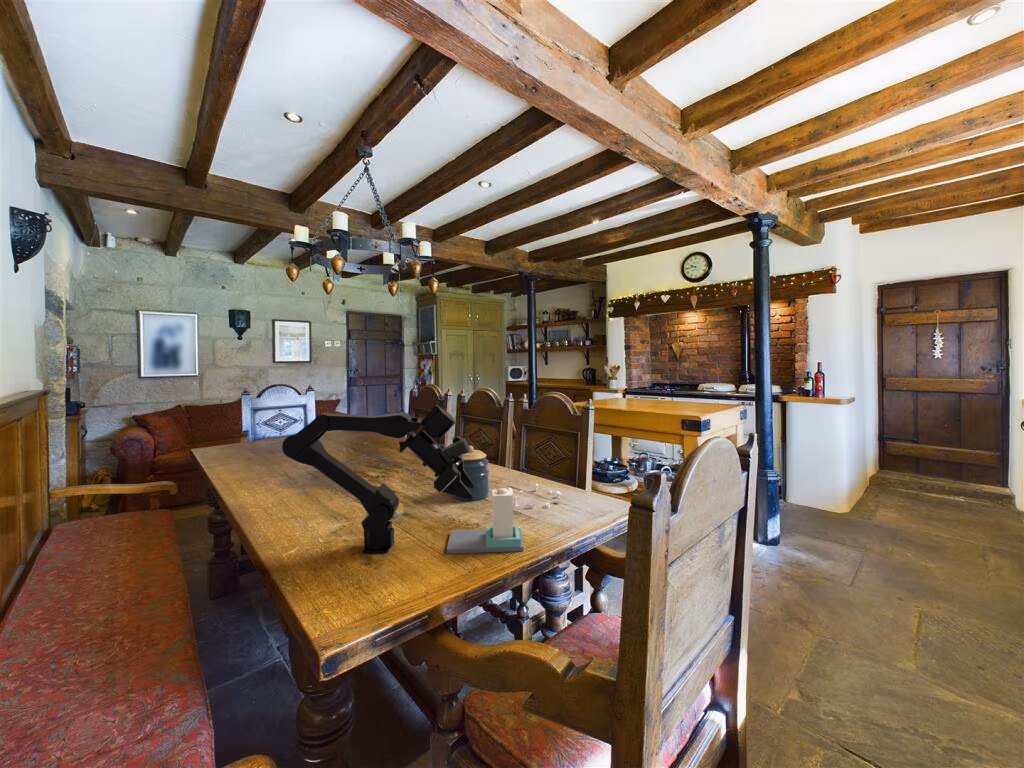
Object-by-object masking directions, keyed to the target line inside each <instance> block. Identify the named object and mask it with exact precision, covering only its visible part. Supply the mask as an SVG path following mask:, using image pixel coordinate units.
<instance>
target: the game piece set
mask: <svg viewBox="0 0 1024 768" xmlns="http://www.w3.org/2000/svg"><path fill="white" fill-rule="evenodd" d="M507 489H511V490H512V495H513V494H514V492H513V489H512V488H511V487H508V488H507ZM538 489H539V484H538V483H534V491H535V492H538ZM524 490H525V487H523V488H522V490H519V493H524ZM547 492H548V494H549V495H552V493H553V491H552V490H551V489H549V490H548V491H547ZM555 492H556V497H555V498H556V499H552V502H553V503H554V504H557V505H558V504H559V503H560V502H561V499H562V497H561V492H560V491H555ZM517 499H518V498H517V496H516V495H514V496H513V500H514V501H513V507H515V508H517V507H519V503H518V501H517ZM534 502H536V500H535V499H533V500H532V501H531V502H529V503H528V501H526V506H525V508H528V509H533V508H534V507H535V506H536V504H533V503H534ZM544 508H545V509H550V508H551V505H550V503H549V501H546V502H544Z"/></svg>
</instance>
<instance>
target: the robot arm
mask: <svg viewBox="0 0 1024 768" xmlns="http://www.w3.org/2000/svg"><path fill="white" fill-rule="evenodd" d="M456 423H457V421H456V419H455V418H454V417H453V416H452V414H450V412H448V411H446V410H445V409H444V408H443V407H440V406H439V405H438V404H436V405H435V406H433V407H432V408H431V410H430V412H429V413H428V414H427V415H426V416H425V417H424V418H422V417H415V416H411V415H410V414H409V413H408V412H404V411H403V412H402V411H401V412H393V413H387V414H381V415H365V414H364V415H363V414H348V413H347V414H345V413H341V414H339V413H331V412H324V413H320V414H319V415H318V414H317V416H315V418H314V419H313V420H312V421H311V422H309V423H308V424H307V425H306V426H304V427H303V428H302V429H300V430H299V431H298V432H295V433H294V434H291V435H288V436H287V437H285V439H284V440H283V442H282V445H281V448H282V453H283V454H284V455H285V457H287V458H289V459H291V460H292V461H295V462H297V463H299V464H302V465H307V466H311V467H313V468H315V470H317V471H318V472H319V473H321V474H323V475H324V476H325V477H327V478H329V480H331V481H332V482H333V483H335V484H337V485H338V486H339V487H341V488H342V489H343V490H344V491H346V492H348V493H349V494H350V495H351V496H353V497H354V498H356V499H357V500H358V501H359V502H360V505H362V507H363V508H364V511H366V513H367V515H366V516H365V517H364V519H363V520H362V522H360V523H361V526H362V529H363V545H364V546H363V548H362V549H361V553H368V554H370V553H371V554H374V553H375V554H376V553H377V554H381V553H382V554H386V553H388V552H389V551H390V549H391V548H392V546H394V544H395V543H396V542H395V527H393V522H392V520H391V519H393V518H394V517H393V515H394V514H395V512H396V510H397V508H398V507H399V501H400V500H399V496H398V495H397V494H395V493H396V492H397V491H396V490H393V489H390V487H388V485H386V484H385V483H384V482H382V483H381V484H380V485H379V486H376V485H374V484H371V483H370V482H369V481H367V480H365V479H364V478H363V477H362V476H360V475H359V474H357V473H356V472H355V471H353V470H352V469H351V468H349V467H348V466H347V465H345V464H344V463H342V462H341V460H338V459H337V458H336V457H334V456H333V455H331V454H330V453H329V452H328V451H327V450H326V449H325V447H324V445H323V443H322V442H321V440H320V439H321V438H322V437H323V436H324V435H325V434H326V433H327V432H328V431H343V432H344V431H346V432H365V433H366V432H367V433H376V434H379V435H382V436H385V437H388V438H389V437H390V438H394V439H401V440H399V442H398V444H399V450H398V452H399V453H400V454H401V453H403V452H404V451H405V450H406V449H408V450H410V452H412V453H413V454H414V456H416V457H417V458H418V459H419V460H420V461H421V462H422V464H421V465H422V466H424V467H425V468H426V467H428V469H430V470H431V471H432V472H433V473H434V475H433V476H434V477H435V478H434V480H433V488H434V489H435V490H436V492H438V493H443V494H447V495H448V494H449V495H452V496H453V495H455V496H459V497H462V498H465V499H468V500H471V499H472V498H473V495H472V494H471V493H470V491H469V490H468V489H467V488H466V487H469V488H471V489H472V488H473V487H474V484H473V482H472V481H471V479H470V478H469V476H468V475H467V473H466V471H465V470H464V468H463V461H464V460H461V459H462V456H461V455H462V454H466V453H468V452H469V451H470V450H469V449H470V448H469V446H470V445H469V443H468V441H467V439H466V438H465V437H463V438H461V437H460V436H459V435H457V436H455V437H454V436H453V438H452V443H450V444H449V445H447V446H444V444H440V443H438V442H436V440H434V439H437V438H439V439H442V438H443V437H444V436H445V435H446V434H447V433H448V432H449V431H450V430H451V428H453V427H454V425H455V424H456ZM421 426H423V427H422V428H421V429H420V427H421ZM418 429H420V430H419V431H418V432H417V433H416V431H417V430H418ZM409 433H410V435H408V434H409ZM407 435H408V436H407ZM405 436H407V437H406V439H403V440H402V438H404V437H405ZM459 460H461V461H460V462H458V461H459ZM392 517H393V518H392Z"/></svg>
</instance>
